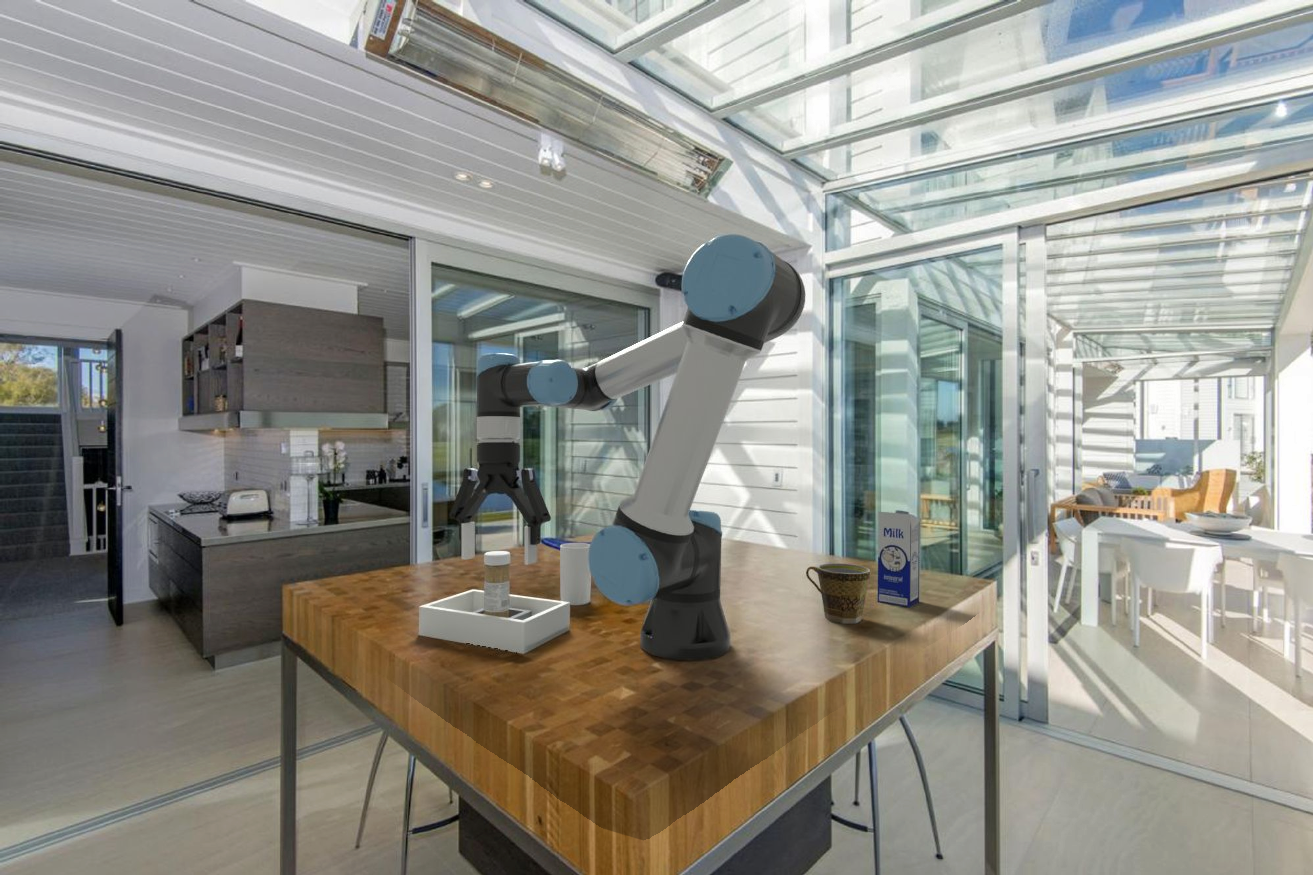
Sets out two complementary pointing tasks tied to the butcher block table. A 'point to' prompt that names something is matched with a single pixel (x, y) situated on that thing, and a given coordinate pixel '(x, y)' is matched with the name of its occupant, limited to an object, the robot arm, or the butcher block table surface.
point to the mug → (575, 573)
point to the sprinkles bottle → (496, 583)
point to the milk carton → (898, 558)
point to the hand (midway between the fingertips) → (498, 561)
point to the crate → (495, 621)
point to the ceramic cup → (842, 590)
